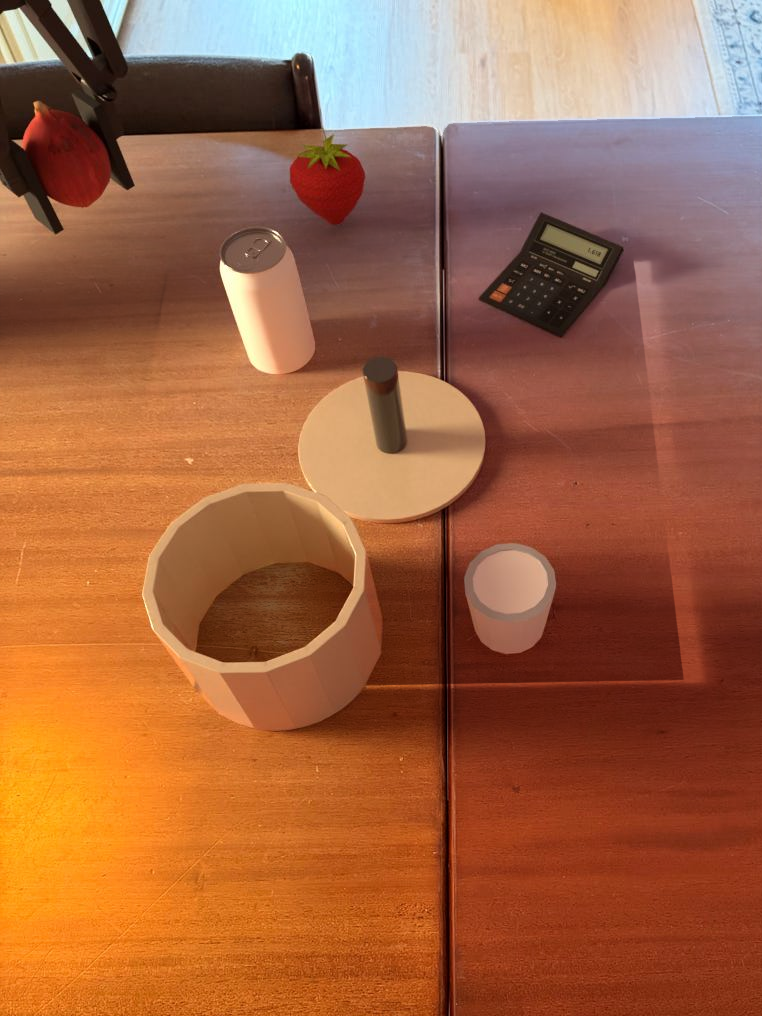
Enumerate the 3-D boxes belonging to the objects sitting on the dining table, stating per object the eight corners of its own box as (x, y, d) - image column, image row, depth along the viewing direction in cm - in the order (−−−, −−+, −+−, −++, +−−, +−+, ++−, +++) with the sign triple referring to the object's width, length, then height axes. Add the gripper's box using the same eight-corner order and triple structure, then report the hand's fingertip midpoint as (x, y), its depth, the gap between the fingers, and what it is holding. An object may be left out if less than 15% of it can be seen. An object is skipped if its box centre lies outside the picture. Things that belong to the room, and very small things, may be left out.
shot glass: (527, 677, 73) (529, 636, 67) (451, 640, 75) (446, 596, 69) (566, 610, 76) (572, 564, 70) (492, 575, 77) (491, 528, 71)
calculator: (479, 304, 92) (478, 279, 89) (541, 234, 96) (542, 209, 93) (560, 342, 89) (562, 317, 86) (621, 268, 93) (624, 243, 91)
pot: (176, 732, 72) (127, 674, 62) (201, 559, 79) (161, 484, 69) (378, 729, 71) (360, 670, 62) (386, 556, 79) (370, 480, 69)
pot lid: (293, 529, 80) (266, 454, 71) (307, 381, 88) (285, 296, 79) (486, 525, 80) (484, 449, 71) (484, 377, 87) (482, 291, 78)
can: (236, 365, 89) (199, 262, 78) (271, 320, 91) (240, 214, 81) (294, 387, 87) (265, 285, 77) (328, 340, 90) (305, 235, 79)
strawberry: (303, 204, 99) (283, 113, 90) (373, 203, 99) (361, 113, 90) (297, 243, 96) (276, 153, 87) (370, 242, 96) (356, 152, 87)
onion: (136, 183, 72) (95, 80, 65) (110, 233, 70) (65, 132, 63) (65, 177, 73) (17, 75, 66) (37, 227, 70) (-16, 126, 63)
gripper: (-216, -78, 46) (7, 291, 67) (95, -216, 52) (213, 162, 73) (-284, -127, 49) (-49, 243, 69) (21, -253, 55) (154, 122, 75)
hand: (85, 201), depth 71 cm, fingers closed on onion, 6 cm apart
